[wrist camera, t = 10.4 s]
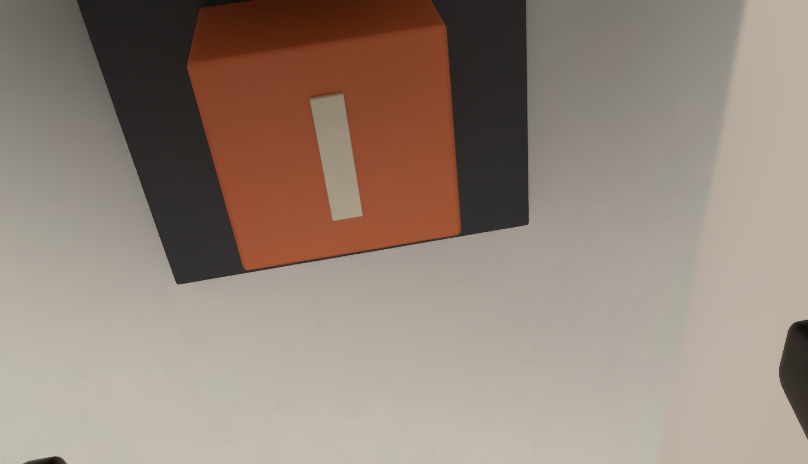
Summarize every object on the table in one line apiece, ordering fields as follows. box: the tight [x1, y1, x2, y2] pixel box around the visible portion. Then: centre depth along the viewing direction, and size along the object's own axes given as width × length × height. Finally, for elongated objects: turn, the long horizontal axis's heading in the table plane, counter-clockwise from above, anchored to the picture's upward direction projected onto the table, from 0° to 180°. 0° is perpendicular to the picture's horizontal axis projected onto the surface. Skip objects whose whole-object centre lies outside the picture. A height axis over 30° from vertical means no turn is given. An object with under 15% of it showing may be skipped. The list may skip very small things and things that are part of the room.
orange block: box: [187, 0, 461, 270], centre depth 16 cm, size 4×4×3 cm
